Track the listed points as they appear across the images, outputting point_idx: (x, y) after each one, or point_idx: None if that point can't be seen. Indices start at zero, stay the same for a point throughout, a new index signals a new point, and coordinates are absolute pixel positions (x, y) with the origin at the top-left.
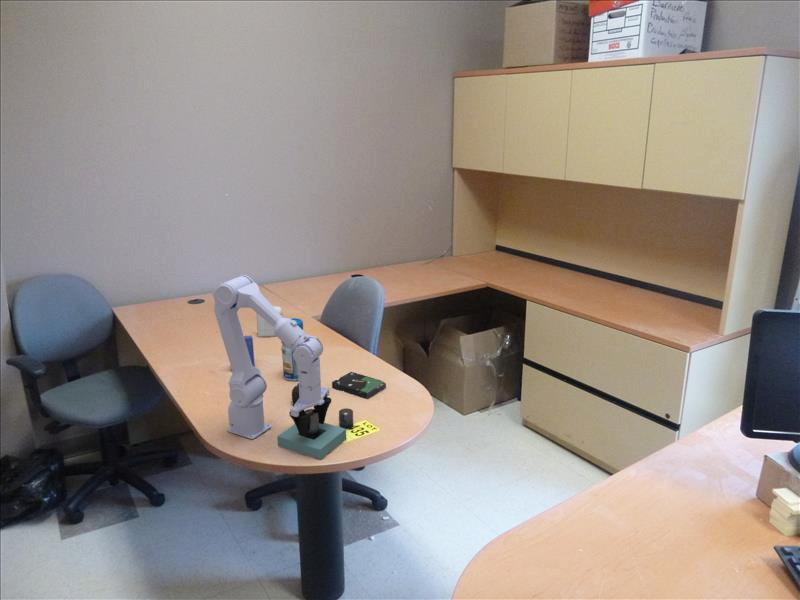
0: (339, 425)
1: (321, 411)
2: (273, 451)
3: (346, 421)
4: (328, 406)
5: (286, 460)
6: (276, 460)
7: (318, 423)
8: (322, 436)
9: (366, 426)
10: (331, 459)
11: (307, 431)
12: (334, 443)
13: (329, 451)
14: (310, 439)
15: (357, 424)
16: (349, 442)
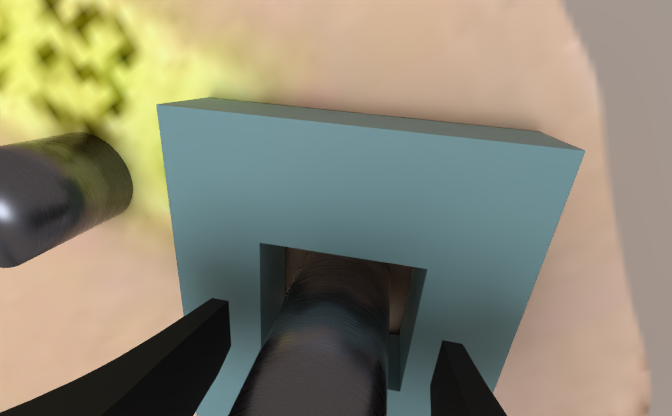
0: (118, 211)
1: (147, 411)
2: (508, 411)
3: (67, 170)
4: (26, 407)
5: (591, 327)
6: (602, 372)
7: (293, 340)
8: (354, 233)
9: (10, 43)
10: (509, 52)
11: (457, 372)
12: (346, 117)
13: (420, 120)
14: (432, 296)
15: (35, 117)
16: (236, 47)
